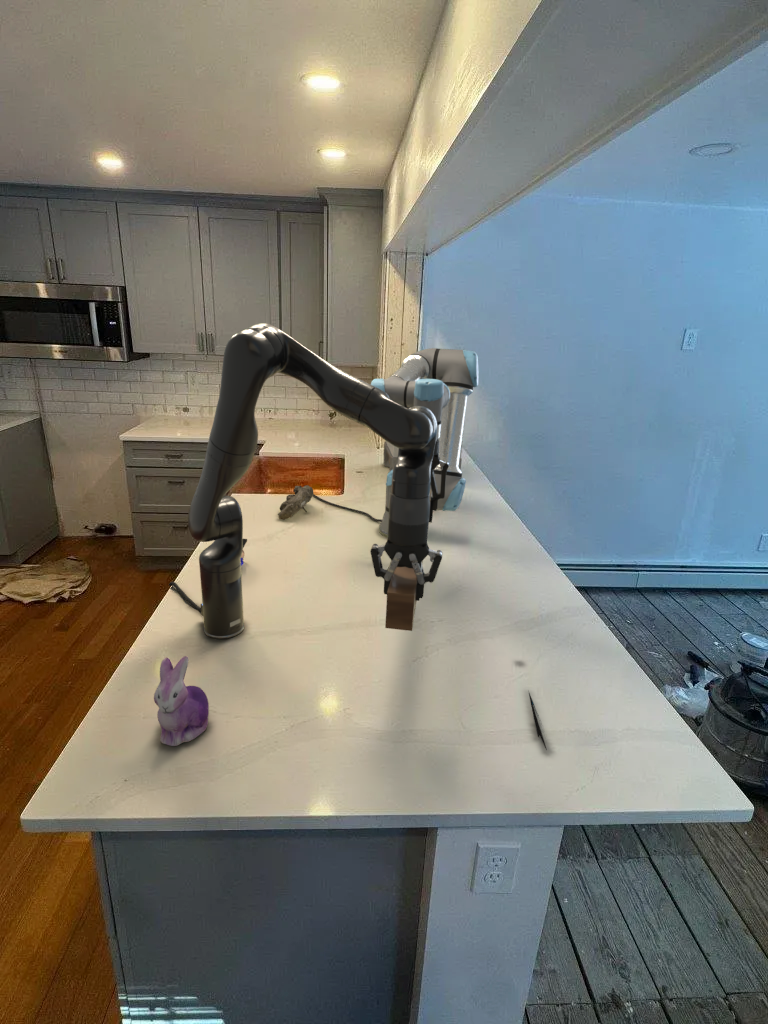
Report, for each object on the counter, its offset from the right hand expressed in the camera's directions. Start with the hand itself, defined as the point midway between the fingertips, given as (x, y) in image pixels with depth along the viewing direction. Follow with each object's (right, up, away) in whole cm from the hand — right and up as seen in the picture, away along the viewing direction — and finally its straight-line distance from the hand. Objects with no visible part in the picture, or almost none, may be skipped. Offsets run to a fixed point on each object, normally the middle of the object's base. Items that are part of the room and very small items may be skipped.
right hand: (420, 519), depth 159 cm
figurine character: (-55, -15, +8) cm, 58 cm away
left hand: (-6, -14, -48) cm, 51 cm away
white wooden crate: (+7, +21, +116) cm, 118 cm away
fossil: (-43, +2, +57) cm, 72 cm away
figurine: (-47, -38, -55) cm, 82 cm away
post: (-3, -9, -24) cm, 26 cm away
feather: (+20, -37, -43) cm, 60 cm away
